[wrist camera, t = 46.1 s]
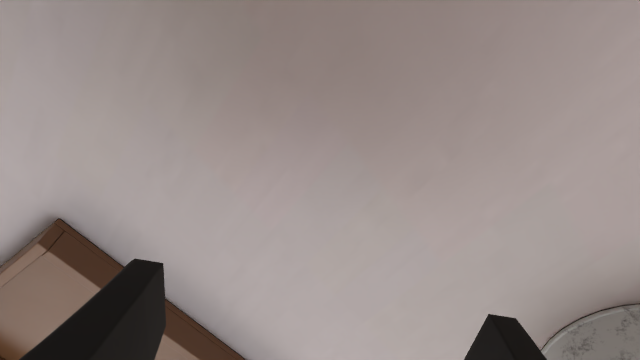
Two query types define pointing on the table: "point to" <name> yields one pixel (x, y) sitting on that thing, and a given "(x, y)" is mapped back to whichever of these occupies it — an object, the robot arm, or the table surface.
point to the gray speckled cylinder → (599, 337)
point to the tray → (78, 297)
